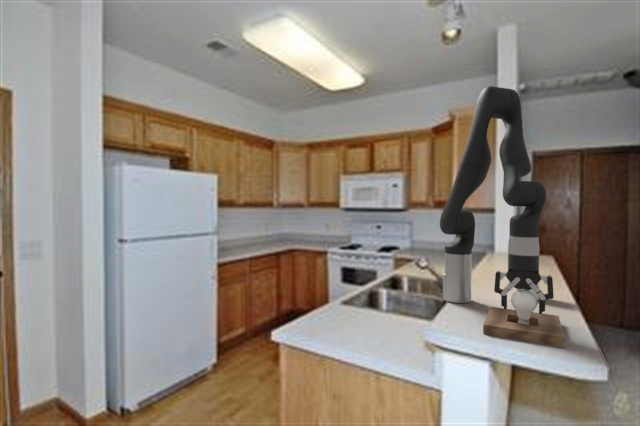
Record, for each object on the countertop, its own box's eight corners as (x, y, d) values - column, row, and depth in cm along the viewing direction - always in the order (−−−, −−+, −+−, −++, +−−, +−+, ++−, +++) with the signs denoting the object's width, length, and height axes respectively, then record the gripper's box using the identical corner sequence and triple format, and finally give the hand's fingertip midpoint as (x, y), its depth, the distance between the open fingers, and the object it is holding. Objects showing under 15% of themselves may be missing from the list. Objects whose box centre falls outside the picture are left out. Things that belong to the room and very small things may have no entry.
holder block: (483, 333, 96) (483, 324, 96) (490, 314, 113) (490, 306, 113) (564, 347, 87) (564, 337, 87) (558, 324, 104) (558, 315, 104)
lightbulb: (527, 334, 96) (528, 293, 95) (505, 327, 101) (506, 288, 101) (541, 330, 98) (542, 291, 98) (519, 323, 104) (520, 286, 104)
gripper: (493, 252, 100) (493, 310, 100) (554, 256, 93) (553, 318, 93) (496, 249, 106) (495, 304, 107) (553, 253, 99) (552, 311, 99)
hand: (522, 310), depth 100 cm, fingers open, 8 cm apart
